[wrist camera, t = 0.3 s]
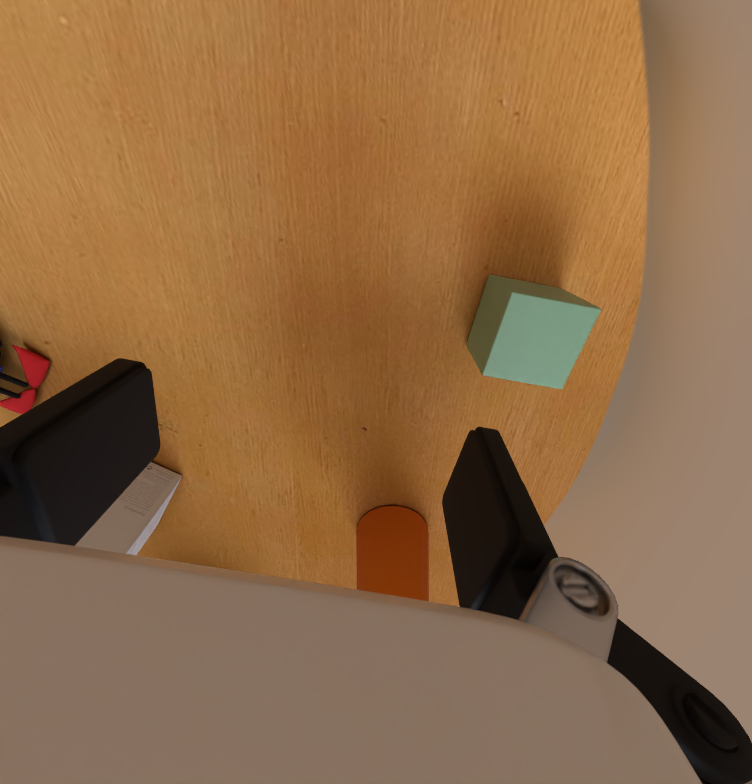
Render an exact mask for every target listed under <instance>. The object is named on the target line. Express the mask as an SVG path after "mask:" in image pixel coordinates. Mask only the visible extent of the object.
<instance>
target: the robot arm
mask: <svg viewBox="0 0 752 784" xmlns="http://www.w3.org/2000/svg"><path fill="white" fill-rule="evenodd" d="M159 449H160V437H159V429H158V421H157V413H156V405H155V396H154V388H153V380H152V373H151V371H150V370H149V369H147V368H146V366H145V364H144V363H142V362H138V361H133V360H127V359H122V358H119V359H116V360H114V361H112V362H111V363H109V364H107V365H106V366H104V367H102V368H101V369H99V370H97V371H95V372H94V373H92V374H90V375H89V376H87V377H85V378H84V379H82V380H80V381H78V382H77V383H75V384H73V385H72V386H70V387H68V388H67V389H65V390H63V391H61V392H60V393H58V394H56V395H55V396H53V397H51V398H50V399H48V400H46V401H44V402H43V403H41V404H39V405H38V406H36V407H34V408H33V409H31V410H29V411H28V412H26V413H24V414H22V415H21V416H19V417H17V418H16V419H14V420H12V421H11V422H9V423H7V424H5V425H4V426H2V427H0V784H752V743H751V741H750V738H749V736H748V735H747V734H746V732H745V730H744V729H743V727H742V726H741V724H740V723H739V721H738V720H737V719H736V718H735V716H734V715H733V714H732V713H731V712H730V711H729V710H728V708H727V707H726V706H725V705H724V704H723V703H722V702H721V701H720V700H718V699H717V698H716V697H715V696H714V695H713V694H712V693H711V692H710V691H708V690H707V689H706V688H705V687H703V686H702V685H701V684H699V683H698V682H697V681H696V680H695V679H693V678H692V677H691V676H690V675H688V674H687V673H686V672H685V671H683V670H682V669H681V668H680V667H678V666H677V665H676V664H674V663H673V662H672V661H671V660H669V659H668V658H667V657H666V656H664V655H663V654H662V653H661V652H659V651H658V650H657V649H656V648H654V647H653V646H652V645H651V644H649V643H648V642H647V641H646V640H644V639H643V638H642V637H641V636H639V635H638V634H637V633H635V632H634V631H633V630H631V629H630V628H629V627H628V626H627V625H625V624H624V623H623V622H622V621H620V620H619V619H618V604H617V601H616V598H615V596H614V594H613V592H612V591H611V589H610V588H609V586H608V585H607V584H606V583H605V581H604V580H603V579H602V578H601V577H600V576H599V575H598V574H597V573H595V572H594V571H593V570H592V569H590V568H589V567H587V566H586V565H584V564H582V563H580V562H579V561H576V560H573V559H570V558H565V557H558V555H557V553H556V551H555V549H554V547H553V545H552V543H551V540H550V538H549V536H548V534H547V532H546V530H545V528H544V525H543V523H542V521H541V519H540V517H539V515H538V513H537V511H536V508H535V506H534V504H533V502H532V500H531V498H530V496H529V494H528V491H527V489H526V487H525V485H524V483H523V482H522V480H521V478H520V476H519V474H518V471H517V469H516V467H515V465H514V463H513V461H512V459H511V456H510V454H509V452H508V450H507V448H506V446H505V444H504V442H503V439H502V437H501V435H500V433H499V431H498V430H494V429H489V428H484V427H477V428H476V430H475V431H474V430H471V431H470V432H469V433H468V436H467V438H466V440H465V443H464V445H463V448H462V450H461V453H460V455H459V458H458V460H457V463H456V465H455V467H454V470H453V472H452V475H451V477H450V480H449V482H448V485H447V487H446V490H445V492H444V495H443V501H442V505H443V512H444V517H445V523H446V529H447V535H448V541H449V546H450V552H451V558H452V564H453V570H454V575H455V581H456V587H457V593H458V599H459V605H460V607H457V606H451V605H446V604H440V603H434V602H429V601H423V600H418V599H412V598H406V597H400V596H394V595H387V594H381V593H375V592H369V591H362V590H356V589H350V588H344V587H338V586H331V585H325V584H319V583H313V582H306V581H300V580H294V579H287V578H281V577H274V576H268V575H262V574H255V573H249V572H242V571H236V570H229V569H223V568H216V567H210V566H203V565H197V564H190V563H184V562H177V561H171V560H164V559H158V558H151V557H144V556H138V555H131V554H124V553H117V552H111V551H104V550H97V549H91V548H84V547H77V546H75V545H76V544H77V543H78V542H79V541H80V540H81V538H82V537H83V536H84V535H85V534H86V533H87V532H88V531H89V530H90V529H91V527H92V526H93V525H94V524H95V523H96V522H97V521H98V520H99V519H100V517H101V516H102V515H103V514H104V513H105V512H106V511H107V510H108V509H109V508H110V506H111V505H112V504H113V503H114V502H115V501H116V500H117V499H118V498H119V497H120V495H121V494H122V493H123V492H124V491H125V490H126V489H127V488H128V487H129V485H130V484H131V483H132V482H133V481H134V480H135V479H136V478H137V477H138V476H139V474H140V473H141V472H142V471H143V470H144V469H145V468H146V467H147V466H148V464H149V463H150V462H151V461H152V460H153V459H154V458H155V457H156V455H157V454H158V452H159Z"/></svg>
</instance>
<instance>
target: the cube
mask: <svg viewBox="0 0 752 784" xmlns="http://www.w3.org/2000/svg"><path fill="white" fill-rule="evenodd" d="M600 311H601V309H600V308H599V307H597V306H595V305H593V304H591V303H589V302H587V301H585V300H583V299H581V298H579V297H577V296H575V295H573V294H571V293H569V292H568V291H566V290H564V289H562V288H557V287H552V286H547V285H542V284H537V283H531V282H526V281H521V280H516V279H511V278H506V277H501V276H495V275H489V276H488V279H487V282H486V285H485V288H484V291H483V294H482V297H481V301H480V304H479V307H478V310H477V313H476V316H475V319H474V322H473V325H472V328H471V332H470V335H469V338H468V341H467V344H466V345H467V347H468V349H469V351H470V353H471V355H472V357H473V359H474V360H475V362H476V364H477V366H478V368H479V370H480V372H481V374H482V375H484V376H490V377H495V378H501V379H507V380H512V381H518V382H524V383H529V384H535V385H540V386H546V387H552V388H557V389H562V388H563V386H564V384H565V382H566V380H567V378H568V376H569V374H570V372H571V370H572V368H573V366H574V364H575V362H576V360H577V358H578V356H579V354H580V352H581V350H582V348H583V346H584V344H585V342H586V340H587V338H588V336H589V334H590V332H591V329H592V327H593V325H594V323H595V321H596V319H597V317H598V315H599V313H600Z"/></svg>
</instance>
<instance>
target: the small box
mask: <svg viewBox="0 0 752 784" xmlns="http://www.w3.org/2000/svg"><path fill="white" fill-rule="evenodd" d="M181 478H182V476H181V475H179V474H177V473H175V472H172V471H170V470H168V469H166V468H164V467H161V466H159V465H157V464H154V463H152V462H150V463H149V464H148V466H147V467H146V468H145V469H144V470H143V471H142V472H141V473H140V474H139V476H138V477H137V478H136V479H135V480H134V481H133V482H132V483H131V484H130V485H129V487H128V488H127V489H126V490H125V491H124V492H123V493H122V494H121V495H120V497H119V498H118V499H117V500H116V501H115V502H114V503H113V504H112V505H111V506H110V508H109V509H108V510H107V511H106V512H105V513H104V514H103V515H102V516H101V517H100V519H99V520H98V521H97V522H96V523H95V524H94V525H93V526H92V527H91V529H90V530H89V531H88V532H87V533H86V534H85V535H84V536H83V537H82V538H81V540H80V541H79V542H78V543H77V544H76V545H75V546H77V547H84V548H91V549H97V550H104V551H111V552H117V553H124V554H131V555H137V553H138V552H139V551H140V549H141V548H142V546H143V545H144V544H145V542H146V541H147V539H148V538H149V536H150V535H151V534H152V532H153V531H154V529H155V528H156V526H157V525H158V523H159V521H160V519H161V517H162V515H163V513H164V511H165V509H166V507H167V505H168V503H169V501H170V499H171V498H172V496H173V494H174V492H175V490H176V488H177V486H178V484H179V482H180V480H181Z"/></svg>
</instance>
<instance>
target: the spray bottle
mask: <svg viewBox="0 0 752 784" xmlns="http://www.w3.org/2000/svg"><path fill="white" fill-rule="evenodd" d="M356 536H357V590H362V591H369V592H375V593H381V594H387V595H394V596H400V597H406V598H412V599H418V600H423V601H429V549H428V525H427V524H426V522H425V521H424V520H423V518H422V517H421V516H420V515H419V514H417V513H416V512H414V511H412V510H411V509H408V508H404V507H399V506H385V507H379V508H377V509H374V510H372V511H369V512H368V513H367V514H366V515H365V516H364V517H362V518H361V519H360V521H359V524H358V527H357V530H356Z"/></svg>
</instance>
